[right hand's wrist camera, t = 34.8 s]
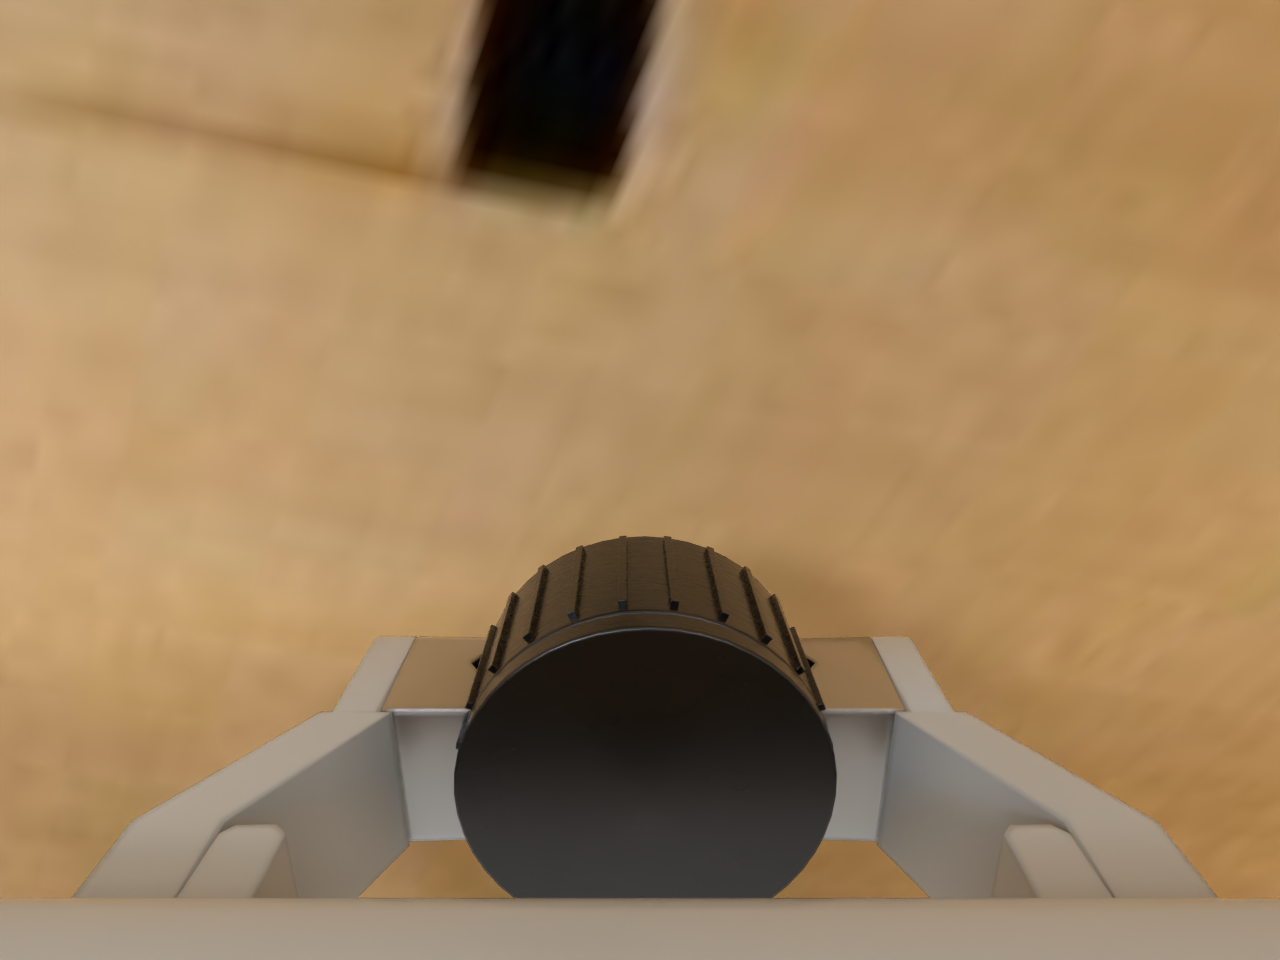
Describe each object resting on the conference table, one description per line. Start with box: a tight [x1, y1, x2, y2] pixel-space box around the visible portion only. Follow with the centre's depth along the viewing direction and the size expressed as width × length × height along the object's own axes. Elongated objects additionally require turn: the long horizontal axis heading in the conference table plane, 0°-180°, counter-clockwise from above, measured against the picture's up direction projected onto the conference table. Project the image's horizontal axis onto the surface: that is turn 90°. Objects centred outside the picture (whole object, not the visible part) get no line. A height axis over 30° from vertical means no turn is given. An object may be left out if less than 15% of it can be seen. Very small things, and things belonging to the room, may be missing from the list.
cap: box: [454, 536, 837, 898], centre depth 9 cm, size 4×4×2 cm
